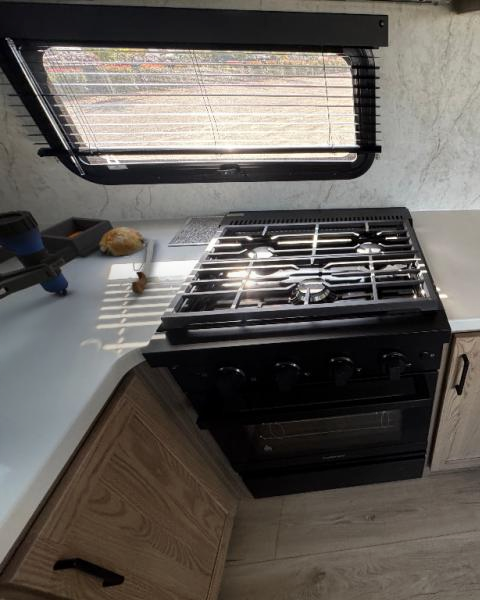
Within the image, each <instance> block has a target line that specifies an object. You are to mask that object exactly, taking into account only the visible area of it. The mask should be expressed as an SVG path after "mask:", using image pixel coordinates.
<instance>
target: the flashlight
mask: <svg viewBox="0 0 480 600" xmlns="http://www.w3.org/2000/svg"><path fill="white" fill-rule="evenodd" d="M40 232H41V231H40V227H39V223H38V222H37V220H36V219H35V217H34V216H33V214H32V212H30V210H29V211H28V210H14V211H13V210H10V211H7V212H0V247H3V248H6V249H8V250H10V251H13V252H15V253H16V256H15V257H16V259H17V260H18V261H19V262H20V263H21V264H22V266H23V268H26V267H30V266H34V265H38V264H41V263H40V261H42V260H44V259H45V258H47V257H49V256H51V255H52V254H51V253H50V252H49V251H48V249H47V248H46V247H44V245H43V244H42V240H41V236H40ZM54 272H55V273H56V275H57V277H56V278H53V279H50V280H48V281H45V282H42V283H40V284H39V285H40V286H41V287H42V289H43V290H44V291H45V292H47V293H50V294H56V295H58V296H63V297H64V296H67V295H68V290H67V289H68V287H69V281H68V280H67V278H66V277H65V276H64V274H63V273H62V269H61V267H60V268H58V269H56V270H55V271H54Z"/></svg>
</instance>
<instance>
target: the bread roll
mask: <svg viewBox="0 0 480 600" xmlns="http://www.w3.org/2000/svg"><path fill="white" fill-rule="evenodd" d="M99 244H100V247H101V248H100V252H101V253H102V254H106V255H107V256H114V257H120V256H126V255H130V254H131V255H132V254H133V253H136V252H138V251H140V250H141V249H142V248H145V247H146V244H145V241H144V237H143V235H142V234H141V233H140V232H139V231H138V230H136V229H133V228H131V227H126V226H120V227H115V228H113V229H112V230H110V231H109V232H107V233H106V234H105V235H104V236H103V237H102V240H101V242H100V243H99Z"/></svg>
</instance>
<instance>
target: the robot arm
mask: <svg viewBox="0 0 480 600" xmlns="http://www.w3.org/2000/svg"><path fill="white" fill-rule="evenodd" d="M15 257H16V253H15V252H13V251H10V250H8V249H6V248H3V247H2V246H0V265H2V264H3V263H5V262H8V261H10V260H11V259H14V258H15ZM77 258H78V256H76V254H75V253H74V251H73V250H72V248H71V247H66V248H64V249H62V250H60V251H59V252H57V253H55V254H51V256H49V257H47V258H45V259H44V260H42V261H40V263H41V264H38V265H34V266H30V267H26V268H25V267H23V268H19V269H15V270H11V271H6V272H3V273H1V272H0V300H3V299H4V298H6V297H8V296H11V295H12V294H14V293H17V292H20V291H24V290H26V289H29V288H31V287H33V286H36V285H40V283H42V282H45V281H48V280H50V279H53V278H56V277H57V275H56V273H55V272H54V271H55V270H56V269H58V268H60V269H61V268H62V267H63V266H65V265H67V264H68V263H70V262H73V261H74V260H76V259H77Z"/></svg>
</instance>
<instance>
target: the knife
mask: <svg viewBox="0 0 480 600" xmlns="http://www.w3.org/2000/svg"><path fill="white" fill-rule="evenodd" d="M154 243H155V240H154V239H151V240H150V241H149V242H148V244H147V250H146V258H145V263H144V266H143V268H142V270H140V271H136V272H135V273H136V275H137V277H138V281H132V283H131V290H132V293H134V294H142V293H143V291H144V290H145V287H146V284H147V282H148V276H149V271H150V268H151V263H152V259H153V253H154V246H155V245H154Z"/></svg>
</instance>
